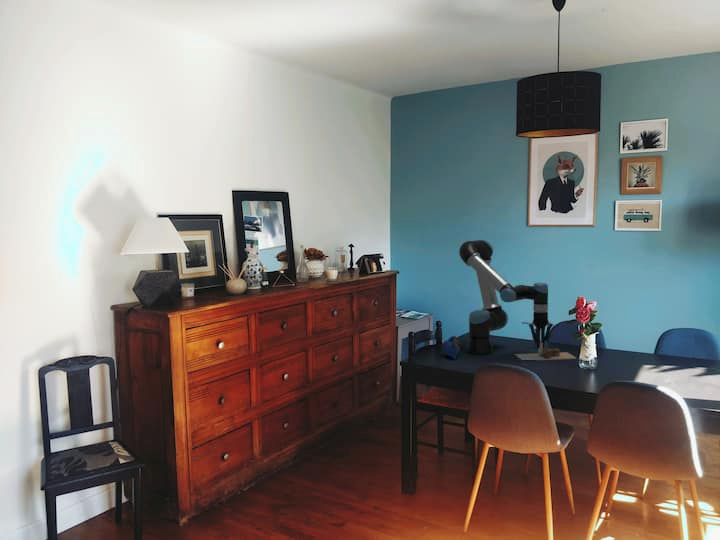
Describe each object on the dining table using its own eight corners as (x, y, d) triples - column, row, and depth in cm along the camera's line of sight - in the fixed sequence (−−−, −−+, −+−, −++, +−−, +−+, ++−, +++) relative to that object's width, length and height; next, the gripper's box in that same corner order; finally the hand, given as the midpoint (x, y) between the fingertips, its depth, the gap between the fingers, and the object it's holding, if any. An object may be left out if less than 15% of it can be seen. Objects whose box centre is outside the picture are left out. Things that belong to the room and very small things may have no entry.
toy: (460, 353, 323) (461, 360, 308) (443, 354, 324) (443, 360, 309) (459, 334, 322) (460, 340, 307) (441, 335, 323) (442, 341, 309)
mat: (522, 361, 304) (522, 360, 304) (514, 355, 316) (514, 354, 316) (576, 358, 306) (576, 357, 305) (567, 353, 317) (567, 352, 317)
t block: (544, 358, 306) (544, 352, 305) (538, 353, 315) (538, 347, 315) (562, 357, 306) (562, 351, 306) (554, 353, 316) (555, 347, 316)
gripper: (531, 313, 304) (531, 355, 306) (555, 312, 304) (554, 355, 307) (526, 310, 311) (526, 352, 313) (549, 309, 312) (549, 351, 314)
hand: (540, 353), depth 310 cm, fingers closed
